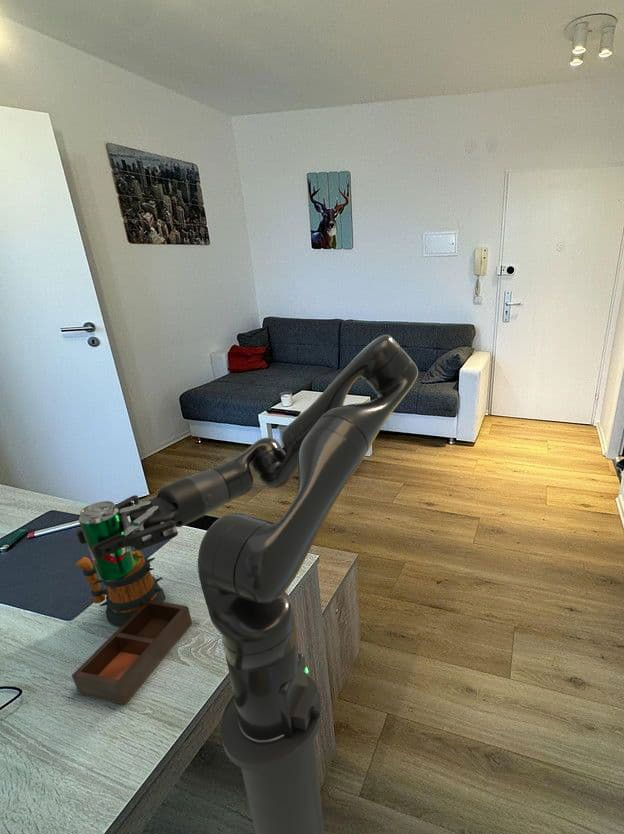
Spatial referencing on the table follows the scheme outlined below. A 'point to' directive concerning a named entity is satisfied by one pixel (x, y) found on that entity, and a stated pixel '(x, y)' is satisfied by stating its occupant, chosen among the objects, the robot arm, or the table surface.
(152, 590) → the mug
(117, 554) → the soda can
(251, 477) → the robot arm
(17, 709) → the table surface
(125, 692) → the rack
